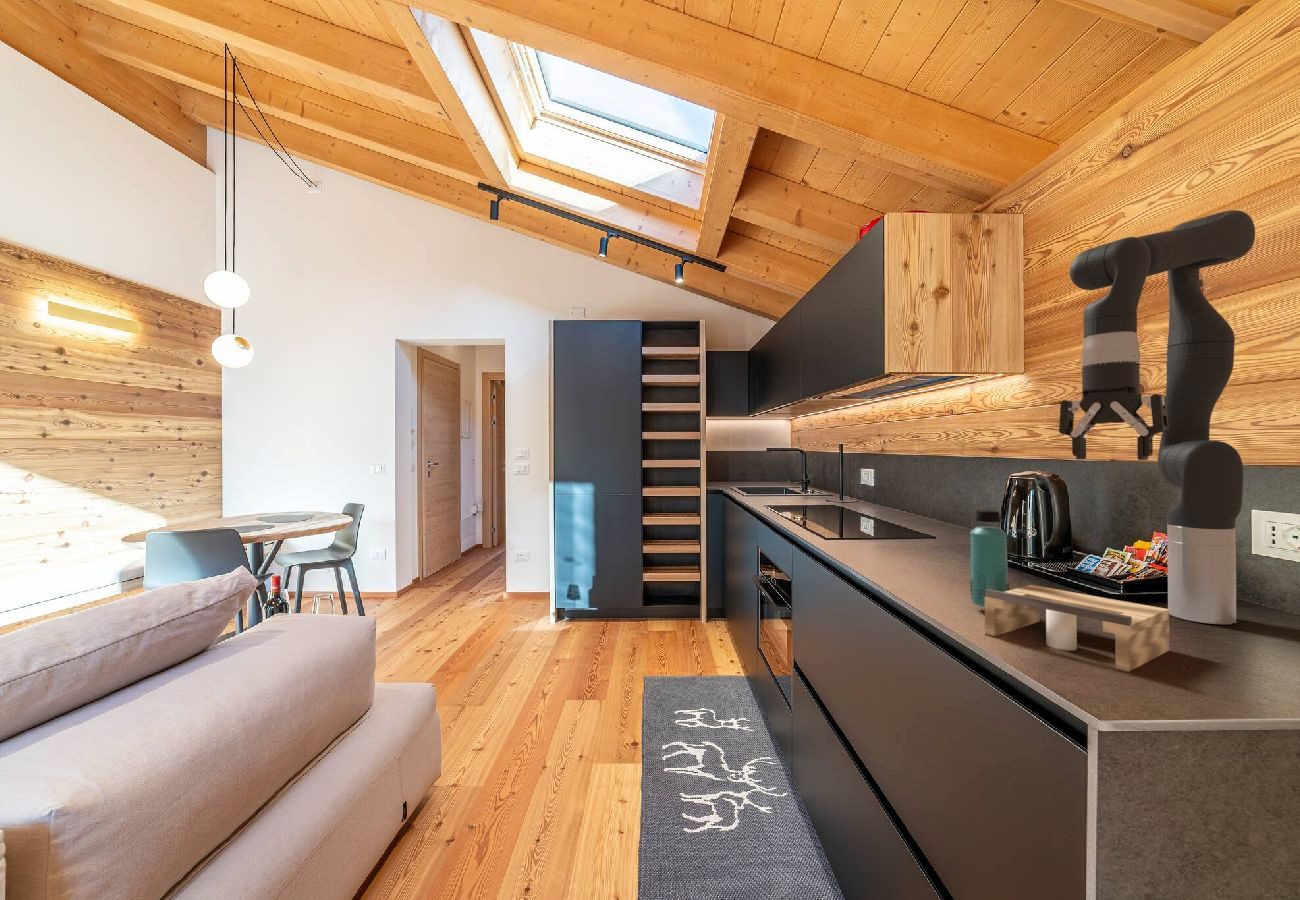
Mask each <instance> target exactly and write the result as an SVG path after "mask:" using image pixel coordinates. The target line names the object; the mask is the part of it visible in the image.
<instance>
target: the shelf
mask: <svg viewBox="0 0 1300 900" xmlns="http://www.w3.org/2000/svg"><path fill="white" fill-rule="evenodd" d="M985 594H986V597H985V607H984V635H985V634H988V635H987V636H989V635H991V636H990V637H992V636H995V637H997V636H996V635H998V636H1001V635H1003V634H1002V633H1004V634H1007V633H1010V632H1012V631H1016V630H1018V629H1022V628H1026V627H1028V626H1030V625H1034V624H1036V623H1039V622H1041V621H1040V617H1041V616H1040V615H1041V614H1040V612H1041V611H1040V609H1043V610H1046V609H1048V610H1053V611H1058V612H1063V613H1067V614H1072V615H1077V616H1078V617H1083V618H1088V619H1091V620H1096V621H1102V632H1103V633H1108V634H1114V637H1115V638H1114V641H1115V643H1114V644H1115V645H1114V647H1115V669H1116V670H1120V671H1123V672H1128V673H1130V672H1131V671H1133V670H1135V669H1137V668H1139V667H1141V666H1143V665H1144V664H1146V663H1148V662H1150V661H1152V660H1153V659H1156V658H1157V657H1158V658H1159V657H1160V656H1161V655H1163V654H1165V653H1168V652H1169V651H1170V614H1169V609H1168V608H1163V607H1160V606H1159V607H1158V606H1153V605H1146V604H1141V603H1136V602H1131V601H1126V600H1119V599H1118V600H1117V599H1113V598H1107V597H1102V596H1096V595H1090V594H1085V593H1079V592H1073V591H1068V590H1063V589H1062V590H1061V589H1056V588H1050V587H1045V586H1039V585H1034V584H1029V585H1025V586H1024V585H1023V586H1020V587H1018V588H1017V587H1016V588H1012V589H1009V591H1005V592H1002V591H997V590H991V589H986V590H985ZM1009 631H1010V632H1009ZM1006 632H1007V633H1006ZM1000 634H1001V635H1000Z"/></svg>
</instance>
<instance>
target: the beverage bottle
mask: <svg viewBox="0 0 1300 900" xmlns="http://www.w3.org/2000/svg"><path fill="white" fill-rule="evenodd" d="M975 515H976V516H975V521H976V522H982V523H983V522H984V523H1000V522H1001V518H1000V511H998V510H991V509H981V510H980V509H979V510H976V514H975ZM969 534H970V568H969V570H970V598H971V601H972V604H973V605H976V606H979V607H982V608H985V597H986V594H985V590H986V589H991V590H997V591H1002V592H1005V591H1009V590H1010V587H1009V586H1010V582H1009V578H1010V576H1009V566H1008V547H1007V546H1008V545H1007V541H1008V540H1007V537H1008V534H1007V533H1006V532H1005V530H1003V528H1001V527H997V526H986V525H985V526H983V525H982V526H980V525H979V526H976V527H974V528H973V529H971V531H970V532H969Z"/></svg>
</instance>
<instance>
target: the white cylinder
mask: <svg viewBox="0 0 1300 900" xmlns="http://www.w3.org/2000/svg"><path fill="white" fill-rule="evenodd" d="M1045 619H1046V620H1045V630H1046V632H1045V634H1046V635H1045V636H1046V637H1045V638H1046V640H1045V643H1046V646H1048V647H1049V646H1050V648H1052V647H1053V649H1054V650H1055V649H1056V650H1061V651H1070V652H1071V651H1076V650H1077V649H1078V646H1077V645H1078V639H1077V637H1078V634H1077V633H1078V631H1077V626H1078V625H1077V622H1078V620H1077V619H1078V618H1077V615H1072V614H1067V613H1063V612H1058V611H1053V610H1048V609H1045Z"/></svg>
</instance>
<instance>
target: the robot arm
mask: <svg viewBox="0 0 1300 900" xmlns="http://www.w3.org/2000/svg"><path fill="white" fill-rule="evenodd" d="M1255 239H1256V228H1255V224H1254V221H1253V219H1252V217H1251V216H1250V215H1249V214H1248V213H1246V212H1244V211H1243V210H1238V209H1237V210H1234V209H1232V210H1226V211H1221V212H1216V213H1214V214H1210V215H1207V216H1202V217H1200V218H1196V219H1192V220H1189V221H1185V222H1183V223H1179V224H1177V225H1175V226H1174V227H1173V228H1172V229H1171V230H1166V231H1160V232H1156V233H1155V232H1154V233H1150V234H1146V235H1141V236H1140V235H1139V236H1137V237H1136V236H1128V237H1124V238H1121V239H1117V240H1114V241H1111V242H1108V243H1104V244H1101V245H1098V246H1093V247H1091V248H1088V249H1086V250H1083V251H1082V252H1080V253H1078V255H1076V256H1075V258H1074V259H1073V260H1072V262H1071V264H1070V267H1069V277H1070V279H1071V282H1072V283H1073V284H1074V285H1075V286H1076V287H1077V288H1079V289H1081V290H1085V291H1097V290H1100V289H1105V288H1108V287H1110V289H1109V291H1108V292H1107V294H1106V295H1104V296H1103V297H1101V298H1100V299H1098V300H1096V301H1094V302H1092V303H1089V304H1088V305H1087V306H1085V307H1084V310H1083V319H1082V320H1083V342H1082V349H1081V390H1082V391H1081V392H1082V397H1081V398H1080V400H1068V399H1064V400H1062V401H1061V402H1060V406H1059V407H1060V409H1059V411H1060V412H1059V427H1058V432H1059V434H1062V435H1065V436H1069V437H1070V438H1071V446H1072V448H1071V452H1072V453H1071V454H1072V455H1073V457H1075V458H1076V460H1086V458H1087V438H1086V437H1085V436H1086V435H1087V433H1089V432H1090V431H1091V429H1092V428H1094V427H1095V426H1096V425H1097V424H1102V425H1104V424H1105V425H1107V424H1110V423H1111V424H1121V423H1122V424H1124V423H1126V424H1127V425H1128V426H1130V427H1132V428H1133V429H1134V430H1135V431H1136V433H1138V434H1139V436H1137V439H1136V440H1137V441H1136V442H1137V460H1139V461H1148V459H1149V457H1152V456H1153V453H1154V450H1153V448H1154V447H1153V445H1154V444H1153V443H1154V442H1153V440H1154V439H1153V438H1154V436H1155V435H1157V434H1160V433H1161V436H1160V437H1161V438H1160V440H1159V441H1160V442H1159V446H1158V447H1159V449H1158V454H1157V469H1158V472H1159V474H1160V476H1161V478H1162V479H1163V480H1164V481H1165V482H1166V483H1167V484H1168V485H1171V486H1172V487H1176V488H1179V489H1180V488H1181V495H1180V500H1179V501H1178V504H1176V505H1175V506H1174V507H1171V508H1170V509H1168V511H1167V514H1166V520H1167V521H1166V524H1167V526H1166V527H1167V530H1166V531H1167V609H1169V616H1170V615H1171V616H1173V617H1174V618H1179V619H1182V620H1186V621H1191V622H1195V623H1196V622H1197V623H1202V624H1203V623H1204V624H1212V625H1233V623H1235V624H1237V553H1236V552H1237V548H1236V547H1237V546H1236V541H1237V540H1236V523H1237V522H1236V520H1237V518H1238V516H1239V515H1240V513H1241V510H1242V506H1243V489H1244V464H1243V461H1242V458H1241V455H1240V453H1239V452H1238V450H1237V449H1236V448H1235V447H1234V446H1233V445H1231V444H1229V443H1226V442H1223V441H1219V440H1210V429H1211V426H1210V425H1211V419H1212V414H1213V410H1214V408H1215V406H1216V404H1217V402H1218V400H1219V399H1220V397H1221V395H1222V393H1223V392H1224V390H1225V388H1226V386H1227V384H1228V382H1229V380H1230V377H1231V375H1232V373H1233V369H1234V363H1235V362H1234V361H1235V341H1236V340H1235V339H1236V337H1235V333H1234V330H1233V328H1232V327H1231V326H1230V323H1228V321H1227V320H1226V319H1225V318H1224V317H1223V316H1222V315H1221V313H1219V312H1218V310H1216V309H1215V307H1213V306H1212V304H1211V303H1210V302H1209V301H1208V299H1207V298H1206V296H1205V295H1204V292H1203V291H1202V286H1201V283H1200V270H1201V269H1203V268H1207V267H1212V266H1213V267H1214V266H1218V265H1221V264H1226V263H1230V262H1233V261H1236V260H1238V259H1241V258H1243V257H1244V256H1246V255H1247V254H1248V253H1249V252H1250V251H1251V249H1252V248H1253V246H1254V243H1255ZM1165 272H1167V281H1168V282H1167V283H1168V294H1169V295H1168V298H1169V299H1168V301H1169V303H1168V305H1169V310H1168V311H1169V314H1168V334H1167V343H1166V344H1167V346H1166V382H1165V383H1166V385H1165V394H1161V393H1154V394H1151V395H1146V396H1142V394H1141V393H1140V392H1141V390H1140V389H1141V387H1140V386H1141V385H1140V381H1141V380H1140V373H1141V371H1140V367H1141V366H1140V364H1141V363H1140V360H1141V353H1140V344H1139V337H1138V314H1137V312H1138V307H1139V306H1138V305H1139V302H1140V300H1141V297H1142V292H1143V289H1144V287H1145V283H1146V280H1147V279H1148V278H1147V277H1152V276H1154V275H1158V274H1161V273H1165ZM1143 404H1145V405H1146V406H1145V407H1146V408H1148V409H1150V410H1151V419H1152V421H1151V422H1152V426H1150V425H1149V424H1147V423H1146V421H1145V420H1144V418H1143V417H1142V415H1140V414H1139V413H1138V412H1137V411H1138V410H1139V409H1140V408H1141V407H1142V406H1143ZM1079 408H1080V409H1081V410H1082V411H1083V413H1084V415H1083V416H1082V417H1081V419H1080V420H1079V421H1078V423H1077V425H1076V426H1075V428H1074V423H1075V422H1074V420H1075V413H1078V410H1079Z"/></svg>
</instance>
